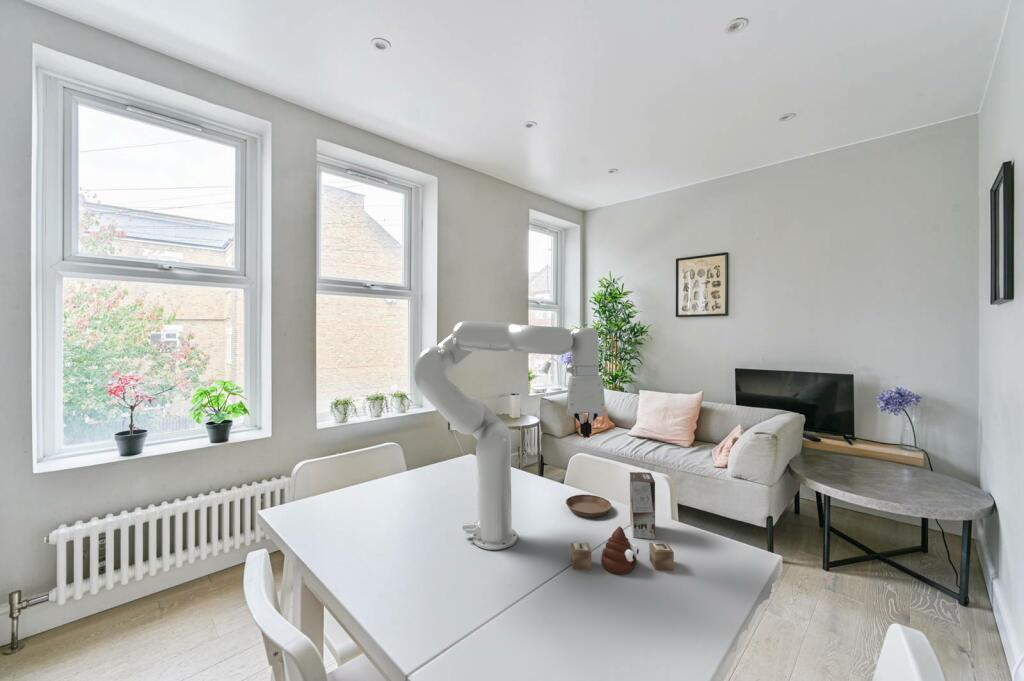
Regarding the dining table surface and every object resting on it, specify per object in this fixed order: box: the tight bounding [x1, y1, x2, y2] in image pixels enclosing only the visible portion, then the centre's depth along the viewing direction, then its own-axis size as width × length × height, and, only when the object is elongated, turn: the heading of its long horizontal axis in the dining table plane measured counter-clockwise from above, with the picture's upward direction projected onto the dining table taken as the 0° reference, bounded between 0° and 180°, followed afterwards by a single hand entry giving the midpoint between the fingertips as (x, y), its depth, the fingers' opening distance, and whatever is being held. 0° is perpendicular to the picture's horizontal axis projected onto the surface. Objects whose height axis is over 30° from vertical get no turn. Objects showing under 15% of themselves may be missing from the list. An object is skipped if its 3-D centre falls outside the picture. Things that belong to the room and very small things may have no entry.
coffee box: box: [629, 471, 656, 540], centre depth 121 cm, size 9×6×16 cm
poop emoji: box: [600, 525, 640, 575], centre depth 103 cm, size 10×8×9 cm
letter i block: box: [570, 542, 592, 571], centre depth 104 cm, size 4×4×5 cm
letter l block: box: [648, 542, 675, 571], centre depth 103 cm, size 4×4×5 cm
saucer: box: [565, 494, 612, 518], centre depth 137 cm, size 15×15×3 cm
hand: (585, 436), depth 117 cm, fingers closed
